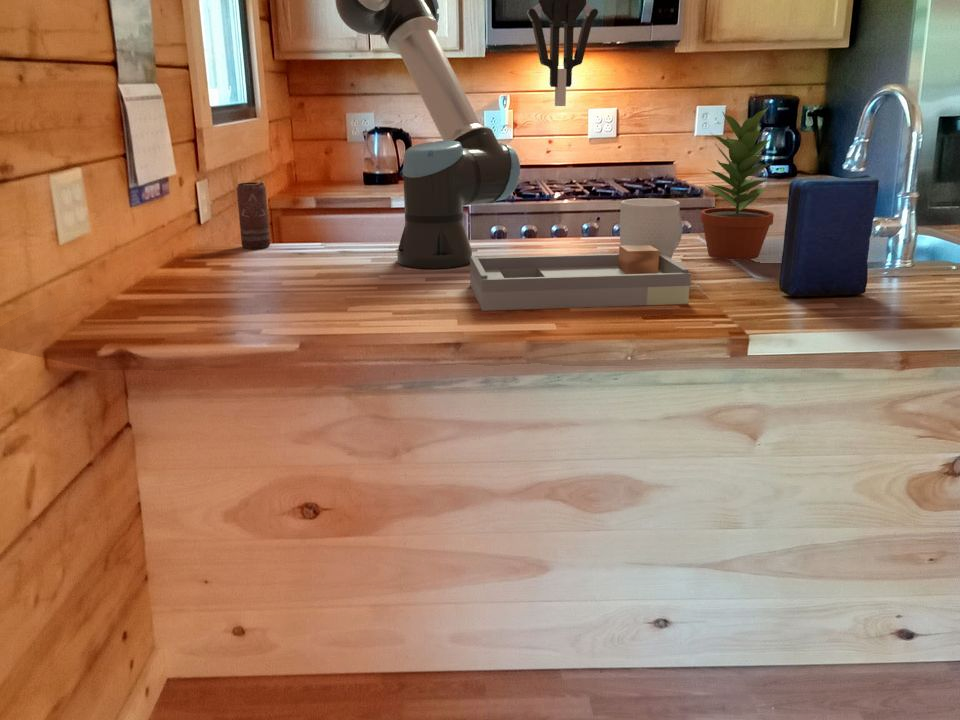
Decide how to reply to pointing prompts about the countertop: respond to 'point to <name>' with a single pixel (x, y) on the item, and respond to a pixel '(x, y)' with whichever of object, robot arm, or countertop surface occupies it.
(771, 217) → the potted plant
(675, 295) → the pad
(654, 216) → the mug
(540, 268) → the box
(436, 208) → the robot arm
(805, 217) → the book
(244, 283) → the countertop surface
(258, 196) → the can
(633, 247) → the block
